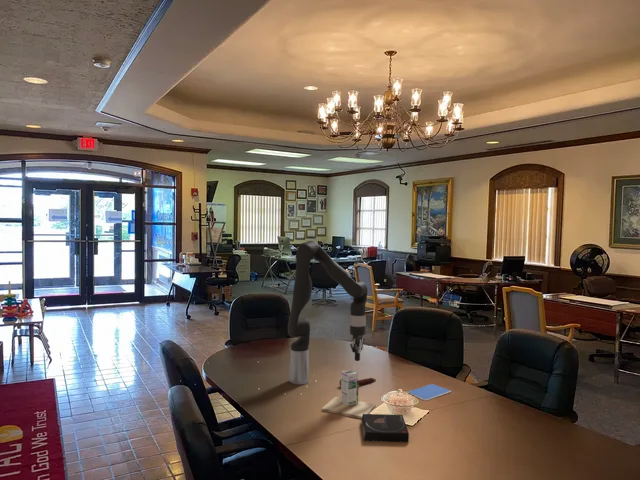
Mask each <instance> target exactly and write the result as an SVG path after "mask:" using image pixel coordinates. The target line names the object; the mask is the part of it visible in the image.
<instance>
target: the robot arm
mask: <svg viewBox="0 0 640 480" xmlns="http://www.w3.org/2000/svg"><path fill="white" fill-rule="evenodd" d="M311 260H315V261H317V262H318V263H320V264H321V265H322V266H323V268H324V269H325V271H326V273H327V274H328V275H329V277H330V278H331V279H332V280H333V281H334V282H336V283H337V284H338V285H340V286H341V287H342V288H343V289H344V290H345V292H346V293H347V295H349V296H350V297H352V302H351V303H350V311H349V312H350V317H349V335H351V336H352V340H351V341H352V342H351V343H349V346H350V349H351V352H352V353H354V361H355V362H359V361H361V353H362V351H363V349H364V345H365V344H364V343H365V338H364V337H363V336H365V335H366V334H367V331H366V330H367V328H366V327H367V326H366V325H367V324H366V323H367V321H366V320H367V319H366V303H367V298H368V286H367V284H366V283H365V282H364V281H360V280H359V281H355V279H354V278H352V274H351V273H349V272H348V271H347V270H346V269H345V268H344V267H342V266H341V265H339V264H338V263H337V262H336V261H335V260H334V259H333V258H332V257H331V256H330V255H329V254H328V253H327V252H326V251H325V250H324V249H323V247H321V246H320V244H319V243H318V242H316V241H315V240H307V241H305V242H301V243H300V244H299V245H298V246H297V249H296V264H295V276H294V284H293V291H292V302H291V307H290V308H291V309H290V313H289V317H288V323H287V333H288V334H287V335H289V336H290V338H298V339H297V340H295V341H292V342H291V344H290V362H289V364H288V382H289V383H291V384H294V385H305V384H307V383H309V352H310V351H309V349H310V348H309V346H310V337H311V336H310V335H311V333H310V332H311V323H310V321H309V319H308V318H307V317H301V318H300V315H301V313H302V311H303V309H304V308H305V307H306V306H307V304H308V303H309V302H310V300H311V297H312V289H313V282H312V279H311V276H310V265H311Z"/></svg>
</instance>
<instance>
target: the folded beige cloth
mask: <svg viewBox="0 0 640 480" xmlns="http://www.w3.org/2000/svg"><path fill="white" fill-rule="evenodd" d="M376 407H377V405H376V404H375V403H371V402H367V401H366V402H365V401H360V400H358V404H354V405H349V406H347V405H345V404H344V403H343V402H342V401H341V397H339V396H335V397H334V398H332V399H331V400H330V401H329V402H327V403H326V404H325V405H324V406H322V407H321V411H323V412H328V413H333V414H336V415H342V416H346V417H352V418H357V419H361V420H362V416H363V414H371V413H372V412H373V410H375V408H376Z"/></svg>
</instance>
